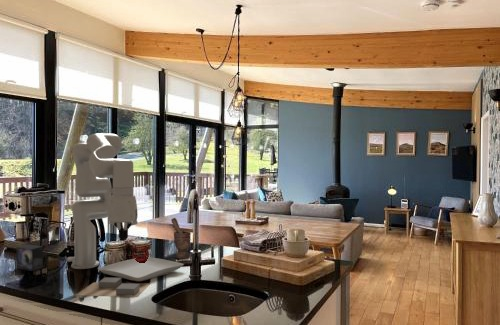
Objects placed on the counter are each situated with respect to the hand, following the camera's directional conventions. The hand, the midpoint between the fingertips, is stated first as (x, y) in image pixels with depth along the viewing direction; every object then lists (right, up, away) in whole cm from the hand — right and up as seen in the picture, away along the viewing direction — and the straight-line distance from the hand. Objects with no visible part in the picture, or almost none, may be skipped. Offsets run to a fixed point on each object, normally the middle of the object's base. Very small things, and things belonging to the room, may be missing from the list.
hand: (123, 239), depth 159 cm
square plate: (0, -20, +27) cm, 34 cm away
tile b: (-2, -19, 0) cm, 19 cm away
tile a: (-11, -19, +9) cm, 23 cm away
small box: (-55, -20, +36) cm, 69 cm away
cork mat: (-5, -21, +4) cm, 22 cm away
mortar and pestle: (+12, -20, +58) cm, 62 cm away
